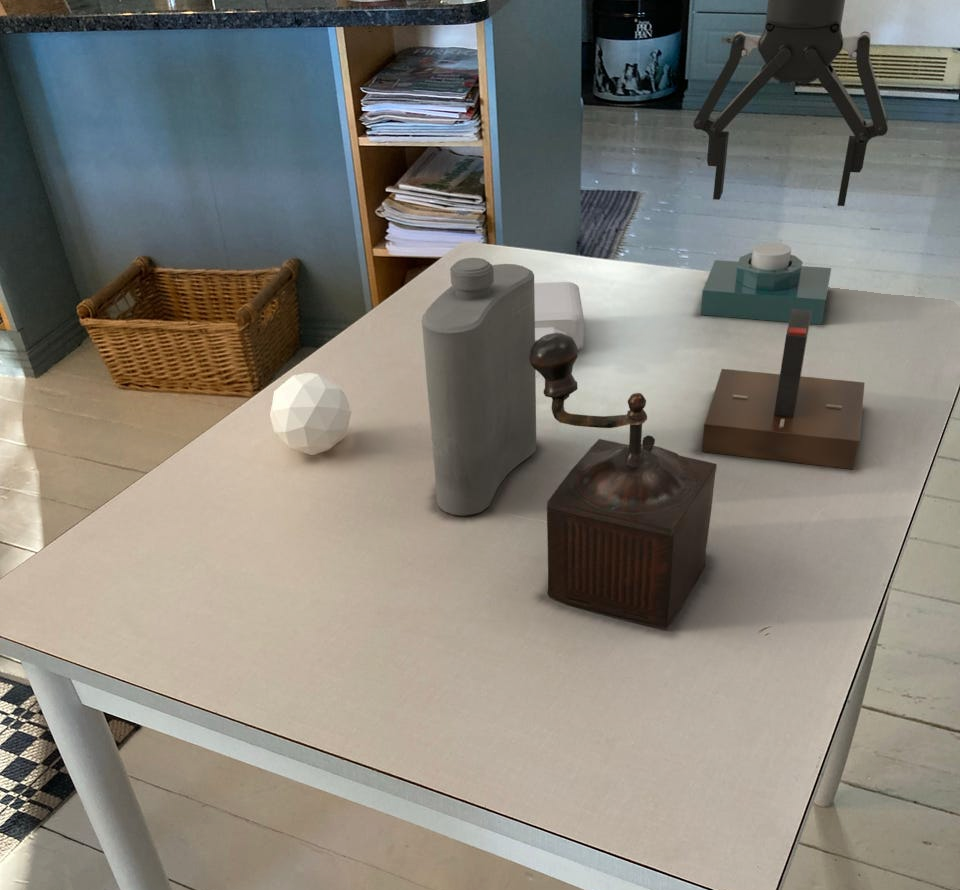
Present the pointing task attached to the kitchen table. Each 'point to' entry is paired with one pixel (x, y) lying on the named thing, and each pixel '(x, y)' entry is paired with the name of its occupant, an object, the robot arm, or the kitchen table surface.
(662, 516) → the manual coffee grinder
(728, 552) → the kitchen table surface
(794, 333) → the dark upright slab
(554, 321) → the charger
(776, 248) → the white push button
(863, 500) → the kitchen table surface
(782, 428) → the brown lever base block
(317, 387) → the geometric ball
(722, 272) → the teal nut fixture block
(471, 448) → the flask
